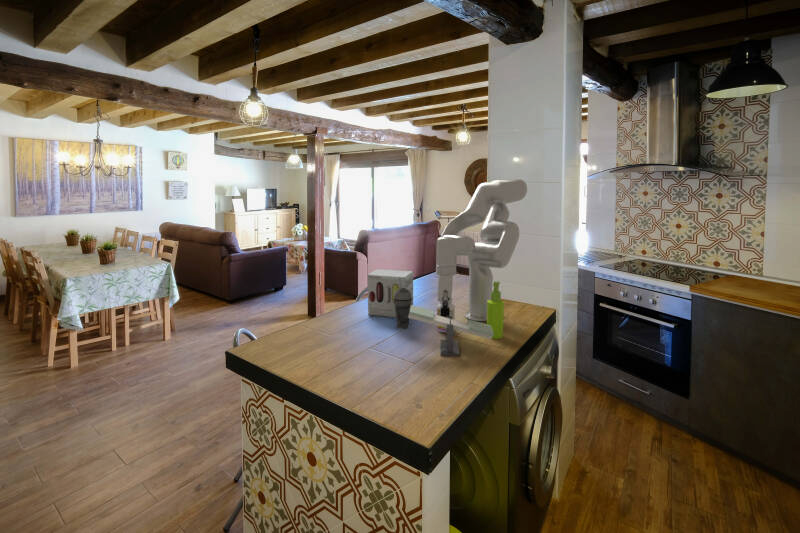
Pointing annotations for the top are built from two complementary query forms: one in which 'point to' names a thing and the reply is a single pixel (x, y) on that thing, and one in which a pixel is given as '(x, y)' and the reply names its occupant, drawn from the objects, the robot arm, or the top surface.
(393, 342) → the top surface
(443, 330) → the supplement bottle
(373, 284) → the supplement box
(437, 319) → the beam
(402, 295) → the beverage cup
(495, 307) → the soap dispenser
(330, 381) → the top surface
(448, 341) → the pivot stand
